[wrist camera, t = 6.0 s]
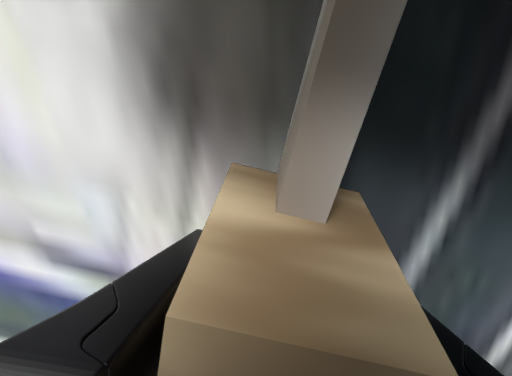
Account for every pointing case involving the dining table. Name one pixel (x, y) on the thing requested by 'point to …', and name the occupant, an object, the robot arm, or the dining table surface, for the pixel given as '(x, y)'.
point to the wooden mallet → (305, 241)
